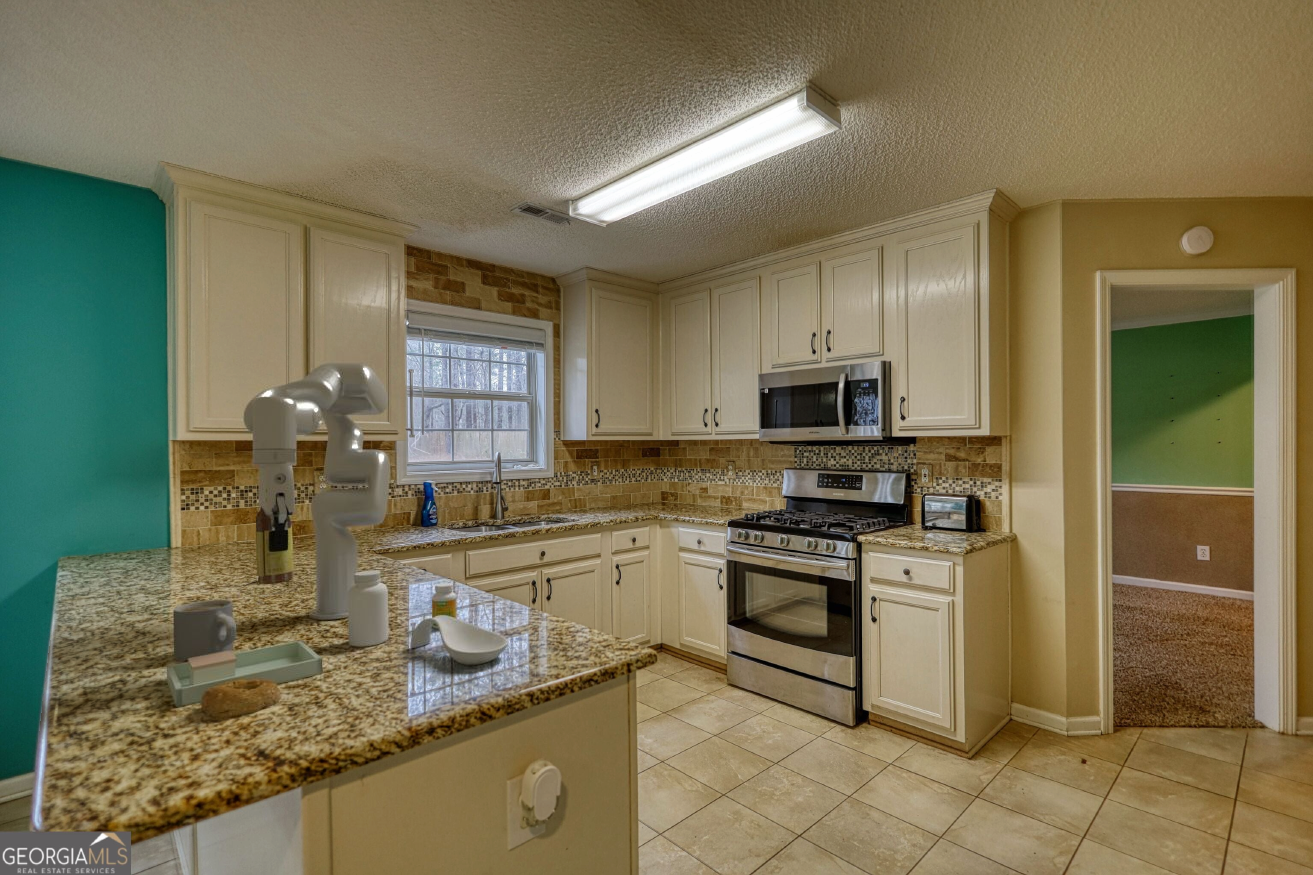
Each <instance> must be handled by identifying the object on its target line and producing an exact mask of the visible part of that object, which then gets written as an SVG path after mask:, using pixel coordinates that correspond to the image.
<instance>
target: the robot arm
mask: <svg viewBox="0 0 1313 875" xmlns="http://www.w3.org/2000/svg"><path fill="white" fill-rule="evenodd" d="M388 401H389V396H388V392H387V390H386V386H384V384H383V383H382V381H381V380H380V378H379V377H378V375H377V373H376V372H375V371H374V370H373V368H371V367H370V366H368V365H366V364H364V363H357V362H355V363H349V362H348V363H347V362H346V363H344V362H343V363H340V362H339V363H335V362H333V363H331V362H330V363H324V364H320V365H318V366H316V367H315V368H314V369H313V370H311V372H309V373H308V374H307V375H306V376H305V377H303V378H302V379H299V380H294V381H291V382H288V383H285V384H281V385H278V386H274V387H272V388H269V389H265V390H263V391H261V392H259V393H258V394H257V395H256V396H254V397H253V398H252V399H250V401H249V402H248V403H247V404H246V407H245V409H244V411H243V422H244V425H245V428H246V429H247V431H249V432H250V433H251V434H252V467H258V510H259V511H260V509H261V507H262V508H263V510H264V512H265V515H266V516H268V517H270V527H271V531H269V551H270V552H278V551H287V550H288V523H287V512H288V515H289V516H293V515H294V514H295V513H296V498H295V496H296V494H295V478H294V477H295V476H294V470H293V469H294V468H293V466H297V462H298V461H297V460H298V458H297V457H298V456H297V452H298V451H297V436H304V435H305V436H306V435H311V434H313V433H315V432H317V431H318V430H319V429H320V428H321V427H322V424H323V421H324V424H325V427H326V430H327V444H326V452H325V458H324V463H323V464H324V465H323V478H324V481H325V482H326V483H327V484H328V485H331V486H336V487H362V486H365V487H367V486H368V487H367V488H331V489H325V490H322V491H319V492H318V493H316V494H315V495H314V496H313V498H312V499H311V504H310V510H311V517H312V521H313V526H314V535H315V592H316V593H315V595H316V596H315V598H316V599H315V600H316V607H315V608H313V609H311V611H309V615H308V616H309V618H310V619H312V620H316V621H317V620H318V621H319V620H320V621H327V620H328V621H329V620H331V621H332V620H340V619H345V618H348V591H349V589H350V588H351V587H353V586H355V585H356V584H355V583H354V582H355V581H354V574H355V573H358V572H359V564H358V563H359V562H358V560H359V559H358V554H359V552H358V551H359V549H358V548H359V546H358V541H357V539H356V537H355V535H354V534H353V532H352V531H351V530H350V529H349V528H350V527H367V526H368V527H369V526H377V525H380V524H382V523H383V522H384V520H385V518H386V515H387V511H388V502H389V493H390V492H389V491H390V482H391V461H390V457H389V455H388V454H387V453H386V452H384V451H383V450H380V449H363V447H364V446H363V445H364V432H363V431H362V429H361V428H360V427H359V425H358V424H357V423H356V422H355V421H354V420H353V419H352V418H351V417H350V416H360V415H361V416H368V415H369V416H372V415H373V416H374V415H380V414H382V413H384V412H385V411H386V409H387V407H388V405H389V404H388V403H389V402H388ZM272 508H273V510H272ZM259 511H258V512H259ZM277 512H278V514H273V513H277ZM274 519H275V523H274ZM348 527H349V528H348Z"/></svg>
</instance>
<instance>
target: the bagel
mask: <svg viewBox="0 0 1313 875" xmlns="http://www.w3.org/2000/svg"><path fill="white" fill-rule="evenodd" d="M281 697H282V696H281V690H280V688H279V687H278V684H275V683H274V682H272V681H269V680H265V679H264V680H257V679H254V680H249V681H248V680H245V679H241V680H235V681H229V682H225V683H223V684H220V685H218V686H214V687H212V688H210V689H208V690H207V691H205V692H204V694H203V696H202V699H201V702H200V706H201V710H203V711H204V712H205V715H206V716H207V717H211V718H218V719H226V718H233V717H238V716H239V717H240V716H243V715H244V716H245V715H246V716H245V717H248V714H254V713H257V712H259V711H261V710H262V709H267V708H270V707H272V706H275V705H277V704H278V703H279V702H280V701H281ZM244 716H243V717H241V719H242V718H244Z"/></svg>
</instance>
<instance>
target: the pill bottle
mask: <svg viewBox="0 0 1313 875" xmlns="http://www.w3.org/2000/svg"><path fill="white" fill-rule="evenodd" d="M381 577H382V576H381V571H380V570H377V569H376V570H364V571H358V573H355V574H354V581H355V582H354V583H355V584H356V585H355V586H353V587H351V588H350V589H349V591H348V617H347V618H348V619H347V623H348V624H347V626H348V629H347V630H348V632H347V633H348V644H349V645H350V646H352V647H360V648H361V647H362V648H364V647H371V646H376V645H379V644H382V643H385V642H387V640H388V638H389V597H388V596H389V594H388V592H389V589H388V587H387V585H386V584H385V583H383V582H381V581H382V579H381Z"/></svg>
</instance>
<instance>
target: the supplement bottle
mask: <svg viewBox="0 0 1313 875" xmlns="http://www.w3.org/2000/svg"><path fill="white" fill-rule="evenodd" d="M453 590H454V584H453V583H452V582H441V583H436V584H435V585H434V592H435V593H434V594H432V597H431V618H434V617H436V616H439V615H446V616H450V617H453V618H456V619H457V594H456V593H455V592H454V591H453ZM431 627H433V628H434V629H438V630H439V627H438V626H437V624H436V623H433V625H432V626H431Z"/></svg>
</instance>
